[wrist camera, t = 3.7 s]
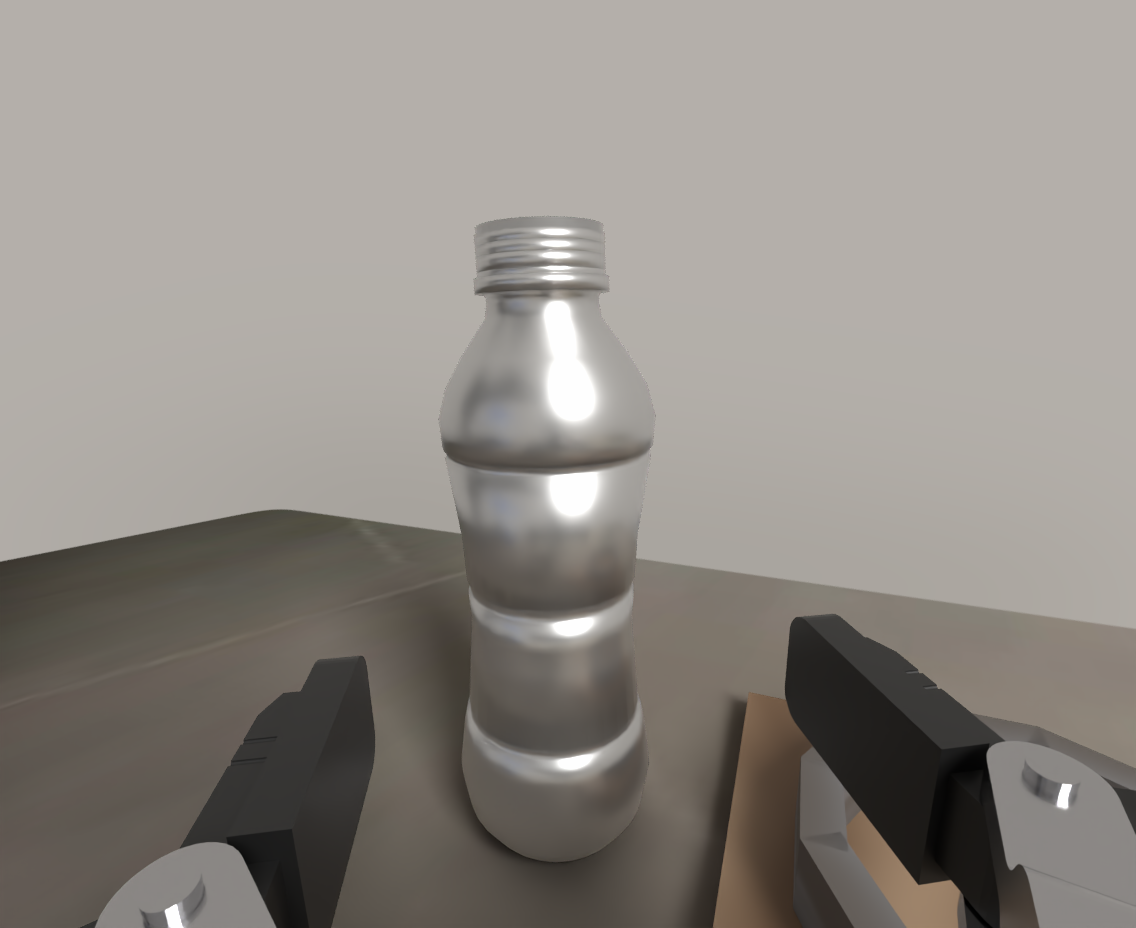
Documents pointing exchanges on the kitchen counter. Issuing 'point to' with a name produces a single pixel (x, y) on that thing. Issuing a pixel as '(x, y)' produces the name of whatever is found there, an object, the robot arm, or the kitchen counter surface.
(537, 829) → the silver aluminium bottle
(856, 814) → the bottle dock
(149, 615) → the kitchen counter surface
